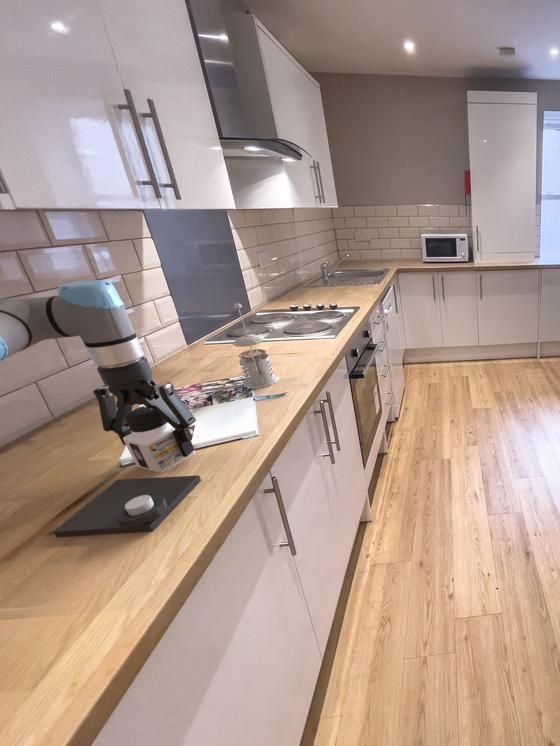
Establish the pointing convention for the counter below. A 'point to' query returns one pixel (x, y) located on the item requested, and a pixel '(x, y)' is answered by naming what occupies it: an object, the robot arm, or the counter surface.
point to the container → (152, 441)
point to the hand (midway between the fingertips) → (164, 454)
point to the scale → (113, 517)
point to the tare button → (139, 505)
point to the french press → (254, 361)
